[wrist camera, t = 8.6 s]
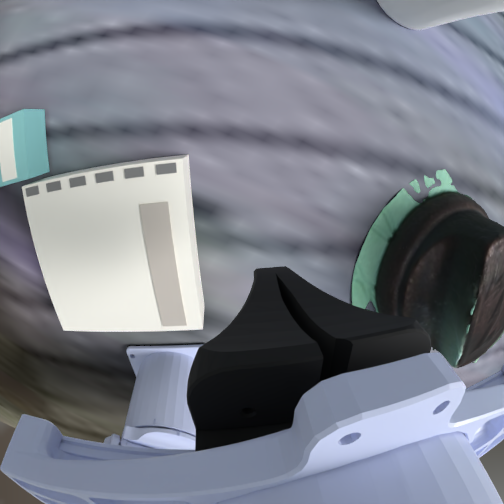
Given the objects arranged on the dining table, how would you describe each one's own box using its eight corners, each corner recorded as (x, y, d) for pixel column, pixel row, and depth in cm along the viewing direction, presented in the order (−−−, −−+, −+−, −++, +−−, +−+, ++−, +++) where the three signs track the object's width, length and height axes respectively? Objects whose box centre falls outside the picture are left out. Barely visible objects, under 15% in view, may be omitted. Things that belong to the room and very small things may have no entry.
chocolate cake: (486, 303, 29) (528, 343, 20) (361, 369, 30) (393, 432, 21) (492, 152, 21) (560, 172, 12) (332, 202, 22) (395, 249, 13)
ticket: (204, 305, 24) (202, 330, 21) (77, 309, 23) (63, 331, 20) (188, 154, 19) (182, 158, 16) (44, 177, 18) (21, 186, 15)
